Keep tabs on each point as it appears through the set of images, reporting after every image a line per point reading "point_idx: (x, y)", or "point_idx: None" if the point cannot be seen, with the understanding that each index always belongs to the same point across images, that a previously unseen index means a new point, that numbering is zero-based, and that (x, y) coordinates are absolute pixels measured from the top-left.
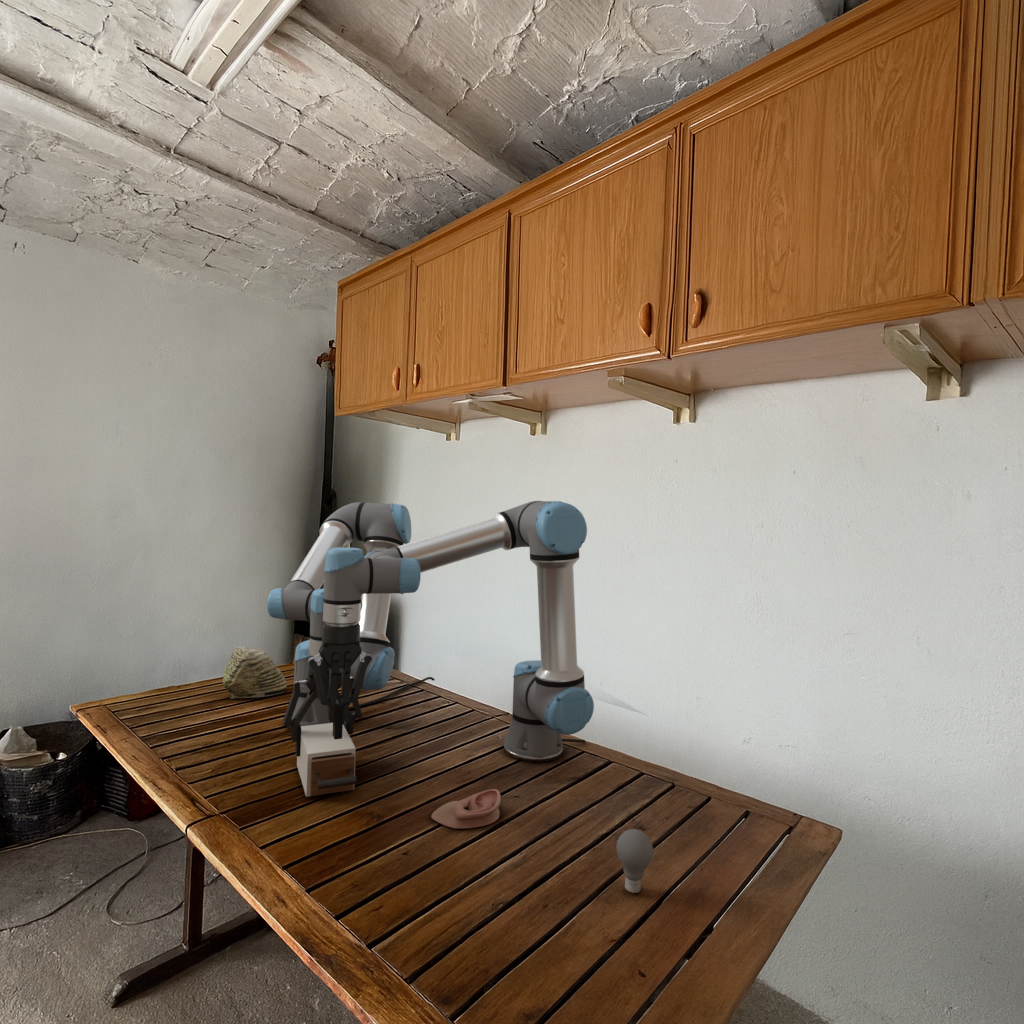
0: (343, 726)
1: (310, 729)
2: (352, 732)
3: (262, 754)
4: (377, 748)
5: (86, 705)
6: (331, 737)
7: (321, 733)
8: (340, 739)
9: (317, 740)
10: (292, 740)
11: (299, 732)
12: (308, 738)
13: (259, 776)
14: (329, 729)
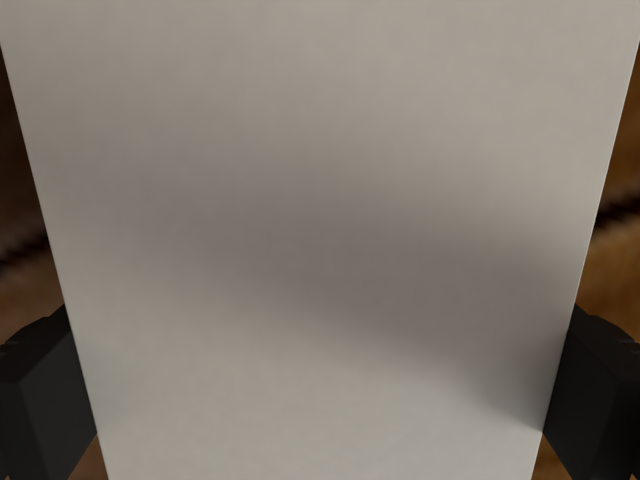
0: (98, 412)
1: (437, 426)
2: (31, 326)
3: (543, 464)
4: None
5: None
6: (254, 131)
7: (351, 296)
8: (136, 3)
9: (448, 77)
10: (602, 320)
11: (601, 346)
12: (533, 187)
13: (632, 248)
14: (250, 376)
